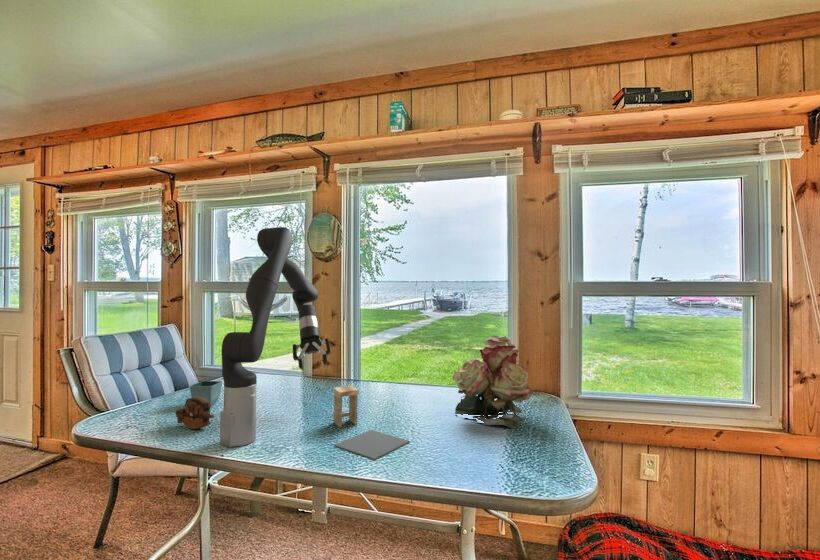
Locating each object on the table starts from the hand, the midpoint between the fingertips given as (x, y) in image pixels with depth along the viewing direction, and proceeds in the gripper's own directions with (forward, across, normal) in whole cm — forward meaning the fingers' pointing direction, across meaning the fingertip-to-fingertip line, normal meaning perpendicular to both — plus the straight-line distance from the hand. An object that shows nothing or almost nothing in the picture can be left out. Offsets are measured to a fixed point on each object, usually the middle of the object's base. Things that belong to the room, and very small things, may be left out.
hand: (313, 367), depth 149 cm
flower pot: (0, -45, +20) cm, 49 cm away
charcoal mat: (+36, +16, -20) cm, 44 cm away
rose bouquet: (+34, +63, -2) cm, 71 cm away
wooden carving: (+15, -41, -3) cm, 43 cm away
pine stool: (+24, +9, -4) cm, 26 cm away
